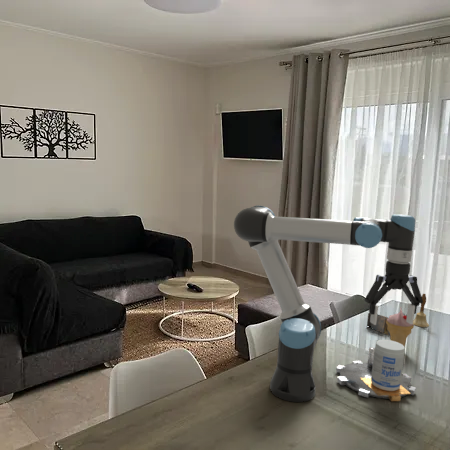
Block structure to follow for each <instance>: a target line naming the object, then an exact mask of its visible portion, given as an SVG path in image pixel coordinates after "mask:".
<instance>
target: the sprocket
mask: <svg viewBox="0 0 450 450" xmlns="http://www.w3.org/2000/svg"><path fill="white" fill-rule="evenodd" d="M374 352H375V347H369V348H368V355H367V362H363V361H361V360H352V363H348V364H345V365H341V364H339V365H337V366H336V368H335V372H336V373H338V374H339V376H337V379H336V381H337V383H338V384H339V385H340V386H346V387H348V388H349V389H351V390H352V391H355V392H357V394H358V396H360V397H364V398H367V399H369V397H372V398H379V399H386V400H387V399H389V401H391V402H401V398H404V397H406V396H407V395H409V396H410V395H411V396H414V395H415V394H416V393H417V392H416V390H417V387H415V386H412V384H411V382H412V376H409V375H408V374H407V373H402V376H401V384H400V388H399V389H398V390H396V391H386V390H382V389H379V388H377V387H375V386H374V385H373V384H372V382H371V376H372V368H373V360H374Z"/></svg>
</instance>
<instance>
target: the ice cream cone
mask: <svg viewBox="0 0 450 450" xmlns="http://www.w3.org/2000/svg"><path fill="white" fill-rule="evenodd" d="M406 319H407V314H405V313H404V312H403V310H402V307H400V309H399V312H398V313H394V314H391V315H389V316H388V319H387V321H386V323H387V325H388V327H387V329H388V331H389V332H390V334H389V336H390V339H389V340H391V341H395V342H398V343H400V344H402V345H403V346H404V347H405V346H406V342H407V338H408V336H410V335H411V334H412V330H413V329H414V327H415V325H414V324H409V323H408V322H406Z"/></svg>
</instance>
